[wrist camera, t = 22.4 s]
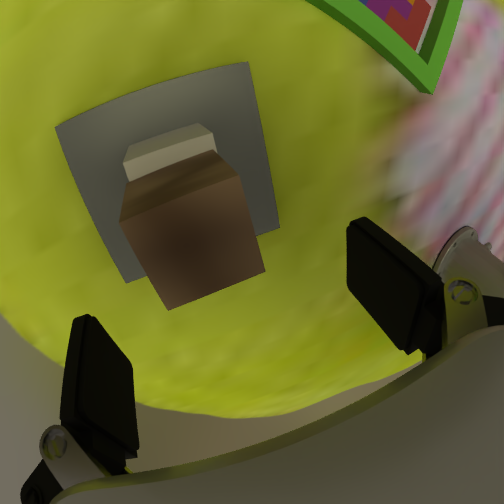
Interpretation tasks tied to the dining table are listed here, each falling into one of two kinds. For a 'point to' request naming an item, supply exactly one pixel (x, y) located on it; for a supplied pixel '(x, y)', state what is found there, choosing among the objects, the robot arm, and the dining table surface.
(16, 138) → the dining table surface
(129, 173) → the cream brick
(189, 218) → the walnut cube
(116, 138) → the base plate
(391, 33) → the jigsaw puzzle tray
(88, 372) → the robot arm
